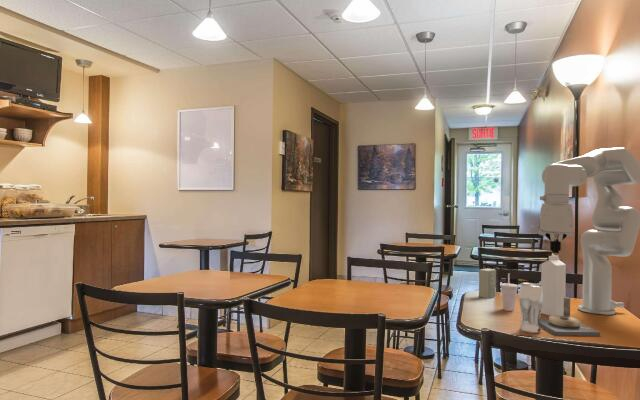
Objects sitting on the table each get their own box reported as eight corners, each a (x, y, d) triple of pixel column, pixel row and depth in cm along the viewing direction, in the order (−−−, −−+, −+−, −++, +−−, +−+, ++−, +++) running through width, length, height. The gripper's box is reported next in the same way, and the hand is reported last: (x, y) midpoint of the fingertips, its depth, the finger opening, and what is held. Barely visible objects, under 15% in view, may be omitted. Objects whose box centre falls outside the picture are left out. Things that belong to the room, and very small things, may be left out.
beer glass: (514, 327, 150) (515, 282, 150) (534, 327, 150) (535, 282, 150) (526, 333, 143) (526, 286, 143) (546, 333, 143) (547, 286, 143)
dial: (568, 318, 156) (568, 297, 156) (586, 327, 145) (586, 304, 145) (541, 318, 156) (541, 297, 156) (557, 327, 145) (558, 304, 145)
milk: (565, 315, 167) (566, 256, 167) (555, 317, 164) (556, 257, 164) (549, 311, 173) (551, 254, 172) (540, 313, 170) (541, 255, 169)
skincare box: (487, 295, 201) (487, 268, 201) (496, 297, 197) (496, 269, 197) (478, 296, 198) (478, 269, 198) (486, 298, 194) (487, 270, 194)
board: (571, 322, 157) (571, 317, 157) (600, 336, 141) (600, 330, 141) (531, 321, 157) (531, 316, 157) (555, 335, 141) (555, 330, 141)
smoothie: (514, 308, 177) (515, 272, 177) (520, 312, 171) (520, 275, 171) (497, 307, 178) (498, 272, 178) (502, 311, 172) (503, 274, 172)
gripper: (534, 199, 154) (533, 252, 154) (583, 200, 150) (582, 255, 150) (531, 199, 162) (529, 250, 161) (577, 200, 157) (576, 252, 157)
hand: (555, 252), depth 156 cm, fingers closed
